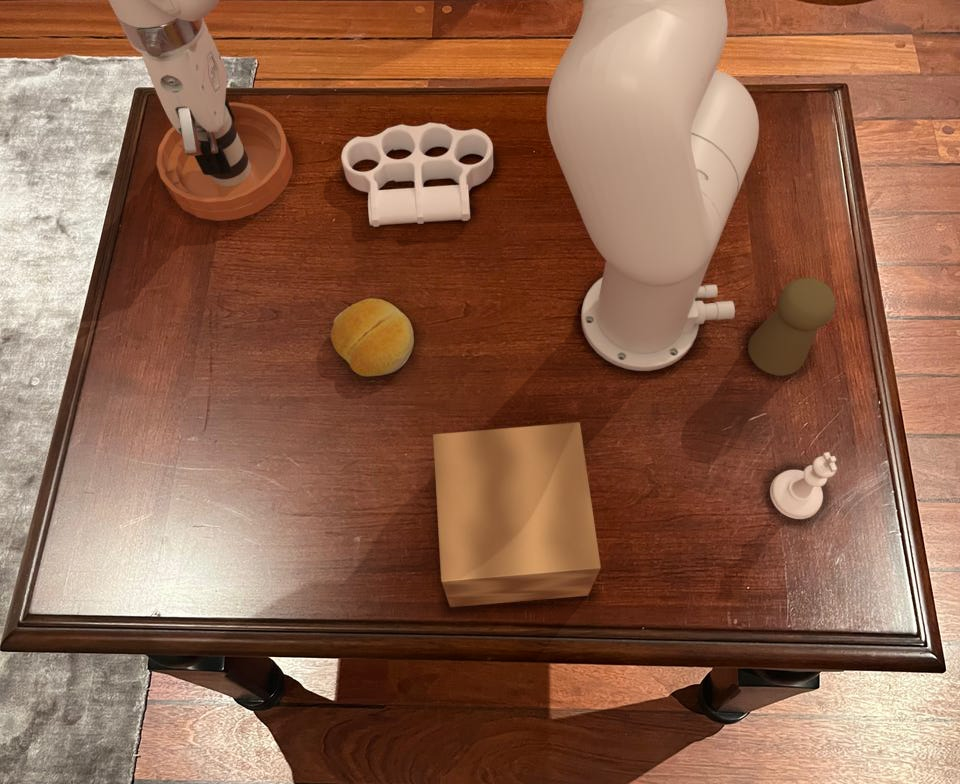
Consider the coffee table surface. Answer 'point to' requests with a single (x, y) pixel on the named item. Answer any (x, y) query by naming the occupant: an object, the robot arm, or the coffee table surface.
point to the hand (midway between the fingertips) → (219, 146)
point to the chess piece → (802, 488)
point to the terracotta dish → (239, 200)
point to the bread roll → (373, 337)
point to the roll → (229, 152)
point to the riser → (514, 515)
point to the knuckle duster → (418, 172)
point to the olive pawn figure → (792, 326)
